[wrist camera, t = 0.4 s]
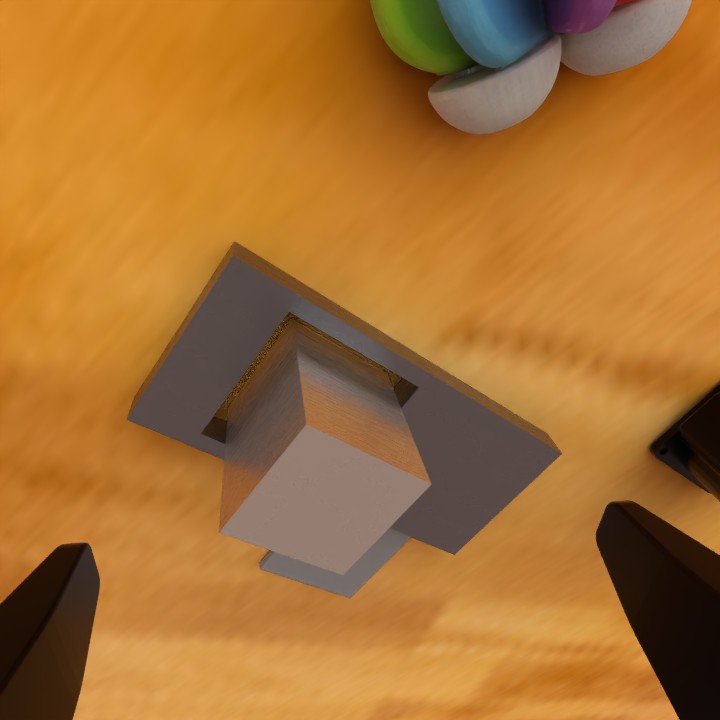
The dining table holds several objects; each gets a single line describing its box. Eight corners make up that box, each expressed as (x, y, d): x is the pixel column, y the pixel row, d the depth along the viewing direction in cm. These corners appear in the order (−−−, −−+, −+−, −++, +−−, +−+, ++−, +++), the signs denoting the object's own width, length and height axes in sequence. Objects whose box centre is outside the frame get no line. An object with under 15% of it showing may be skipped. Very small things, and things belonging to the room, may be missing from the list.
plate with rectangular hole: (547, 434, 27) (562, 453, 26) (445, 532, 29) (454, 554, 28) (234, 241, 19) (232, 255, 18) (134, 397, 22) (126, 419, 21)
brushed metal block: (386, 372, 23) (431, 484, 17) (322, 449, 25) (343, 575, 19) (292, 318, 21) (306, 424, 15) (228, 406, 23) (219, 532, 17)
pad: (413, 527, 29) (415, 532, 28) (348, 592, 31) (349, 598, 30) (324, 489, 26) (324, 495, 26) (259, 562, 28) (259, 569, 28)
